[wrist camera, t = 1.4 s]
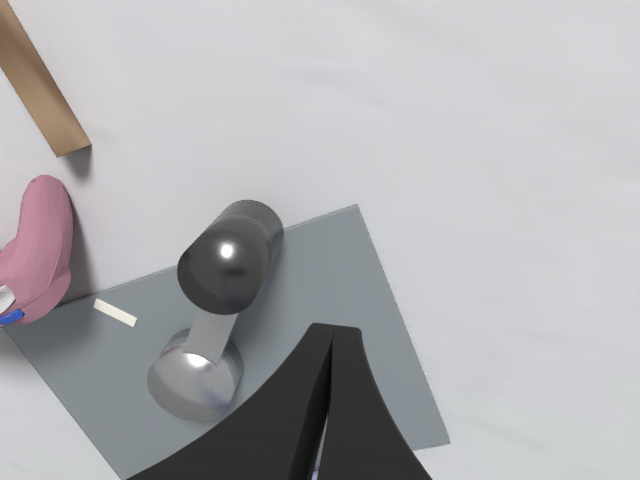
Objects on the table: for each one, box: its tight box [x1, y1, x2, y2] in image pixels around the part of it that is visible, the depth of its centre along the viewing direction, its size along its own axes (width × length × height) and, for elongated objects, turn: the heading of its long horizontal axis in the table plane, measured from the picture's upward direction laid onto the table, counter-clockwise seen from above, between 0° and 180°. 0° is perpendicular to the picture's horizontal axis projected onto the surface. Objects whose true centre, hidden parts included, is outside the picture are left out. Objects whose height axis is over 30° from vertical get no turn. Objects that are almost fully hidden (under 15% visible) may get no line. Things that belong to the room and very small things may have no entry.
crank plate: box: [3, 204, 450, 480], centre depth 25 cm, size 15×22×1 cm
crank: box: [147, 200, 284, 422], centre depth 20 cm, size 13×4×5 cm, turn 157°
